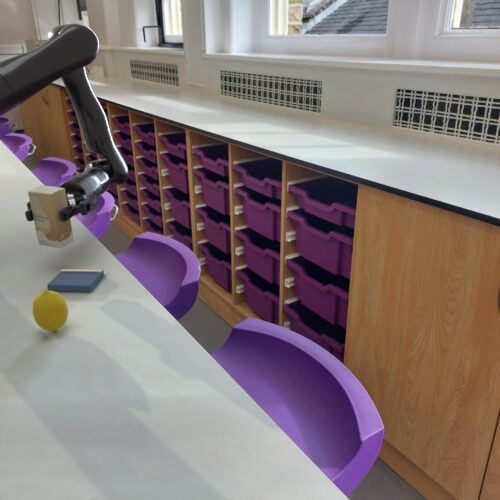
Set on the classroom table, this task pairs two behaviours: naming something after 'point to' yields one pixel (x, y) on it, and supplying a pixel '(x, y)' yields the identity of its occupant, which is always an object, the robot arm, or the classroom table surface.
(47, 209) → the cosmetic box
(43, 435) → the classroom table surface
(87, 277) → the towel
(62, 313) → the lemon
